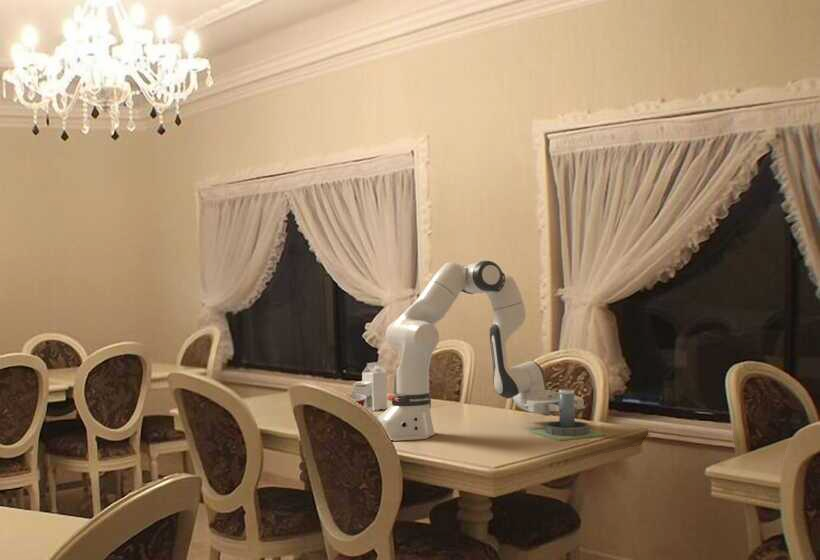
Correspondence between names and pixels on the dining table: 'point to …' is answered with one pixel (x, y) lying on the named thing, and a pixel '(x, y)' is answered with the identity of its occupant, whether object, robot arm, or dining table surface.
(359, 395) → the plastic cup
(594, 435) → the practice green
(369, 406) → the syrup box
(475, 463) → the dining table surface
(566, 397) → the ball tube
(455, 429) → the dining table surface
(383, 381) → the milk carton
